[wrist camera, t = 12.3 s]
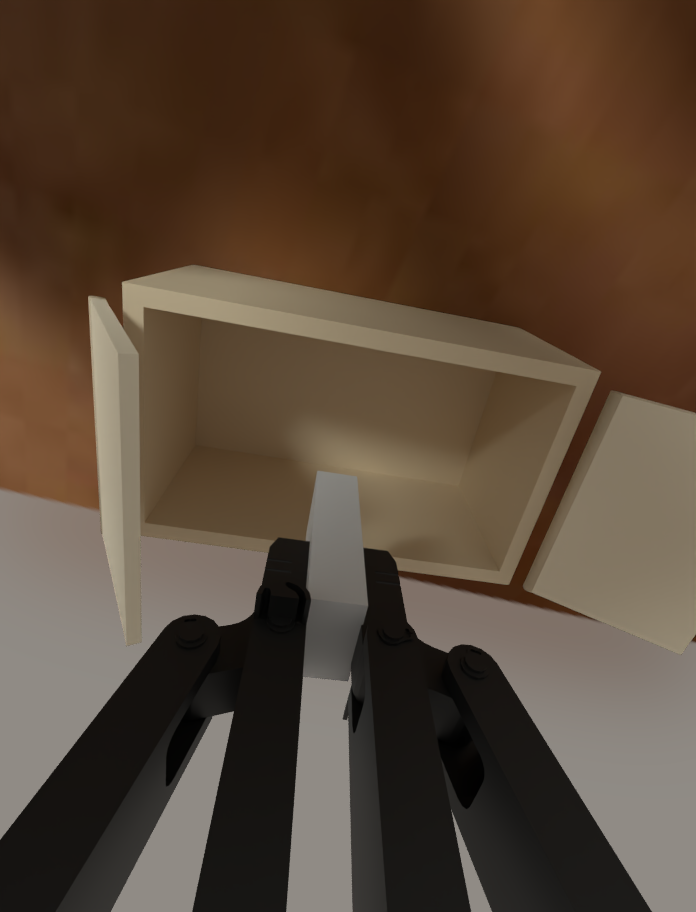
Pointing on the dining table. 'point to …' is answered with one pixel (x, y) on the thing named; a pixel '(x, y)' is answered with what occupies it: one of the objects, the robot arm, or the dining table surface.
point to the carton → (344, 419)
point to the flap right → (628, 525)
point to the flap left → (118, 457)
